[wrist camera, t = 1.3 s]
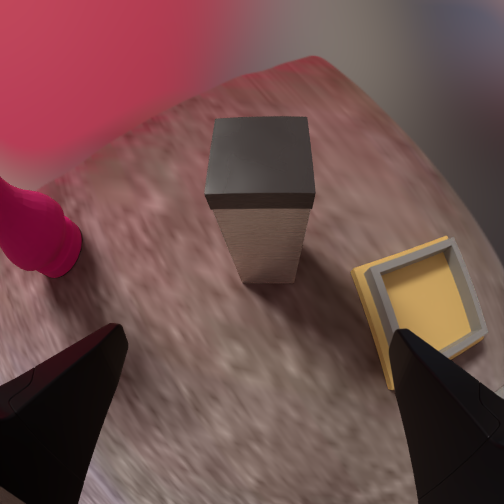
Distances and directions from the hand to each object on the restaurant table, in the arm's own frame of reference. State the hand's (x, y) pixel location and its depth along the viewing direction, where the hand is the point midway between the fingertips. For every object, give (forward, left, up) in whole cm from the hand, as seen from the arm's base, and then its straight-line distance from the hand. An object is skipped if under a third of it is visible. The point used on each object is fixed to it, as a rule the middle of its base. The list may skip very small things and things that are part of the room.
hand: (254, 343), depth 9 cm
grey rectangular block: (+7, -2, -13) cm, 15 cm away
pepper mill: (+14, +18, -13) cm, 26 cm away
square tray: (-1, -13, -13) cm, 19 cm away
